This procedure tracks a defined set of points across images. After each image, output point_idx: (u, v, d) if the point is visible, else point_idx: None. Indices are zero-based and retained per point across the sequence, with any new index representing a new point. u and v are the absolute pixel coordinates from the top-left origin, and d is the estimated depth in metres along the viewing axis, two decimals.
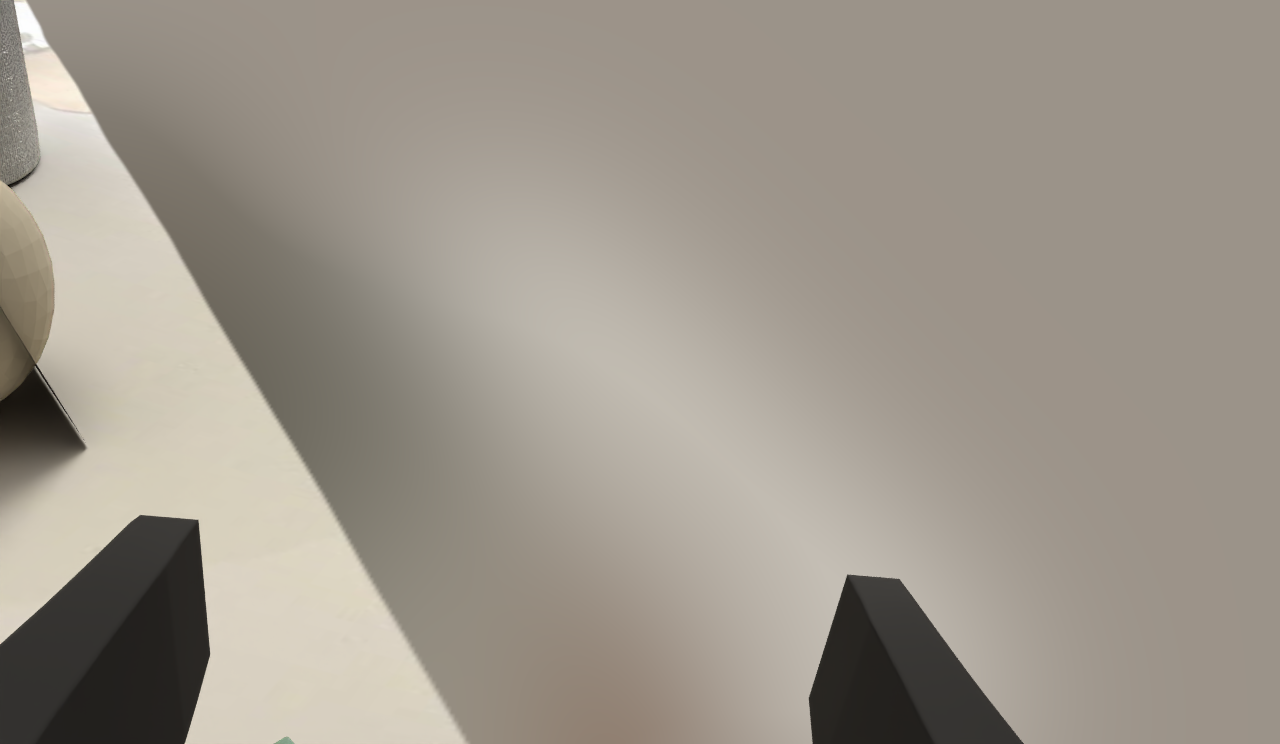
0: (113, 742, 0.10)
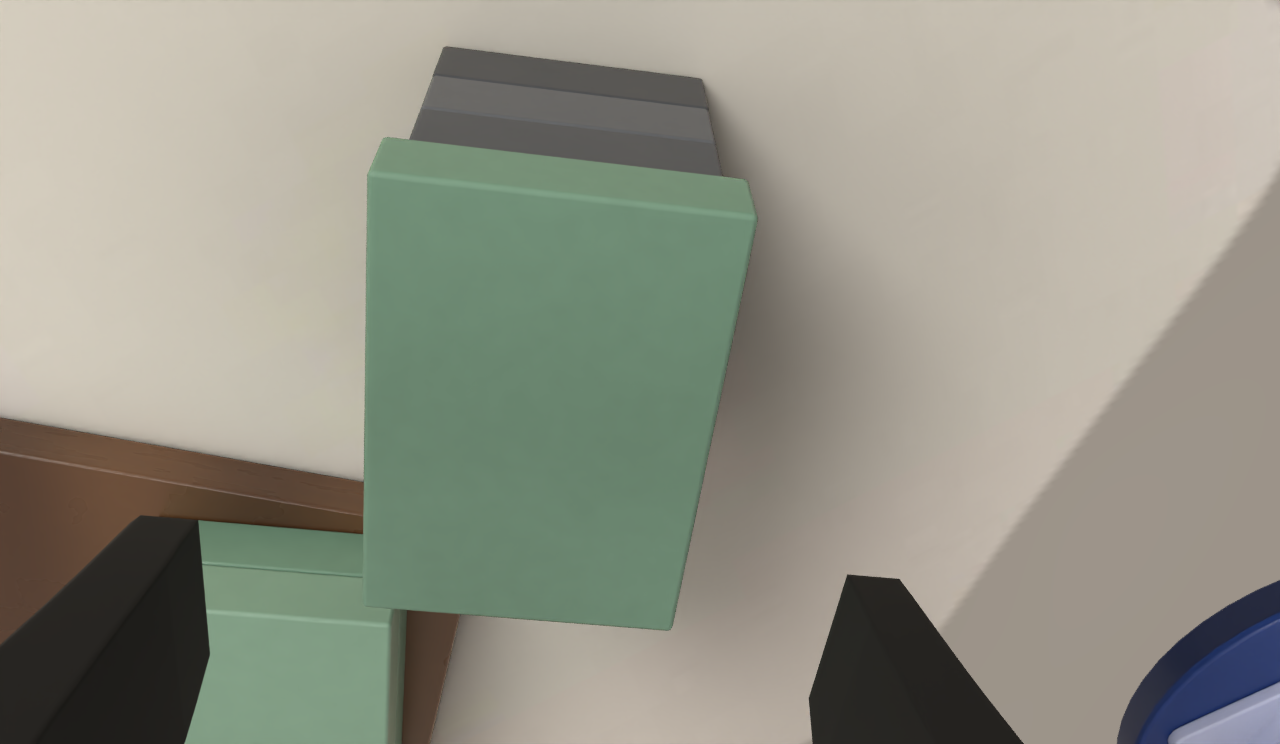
0: (113, 742, 0.10)
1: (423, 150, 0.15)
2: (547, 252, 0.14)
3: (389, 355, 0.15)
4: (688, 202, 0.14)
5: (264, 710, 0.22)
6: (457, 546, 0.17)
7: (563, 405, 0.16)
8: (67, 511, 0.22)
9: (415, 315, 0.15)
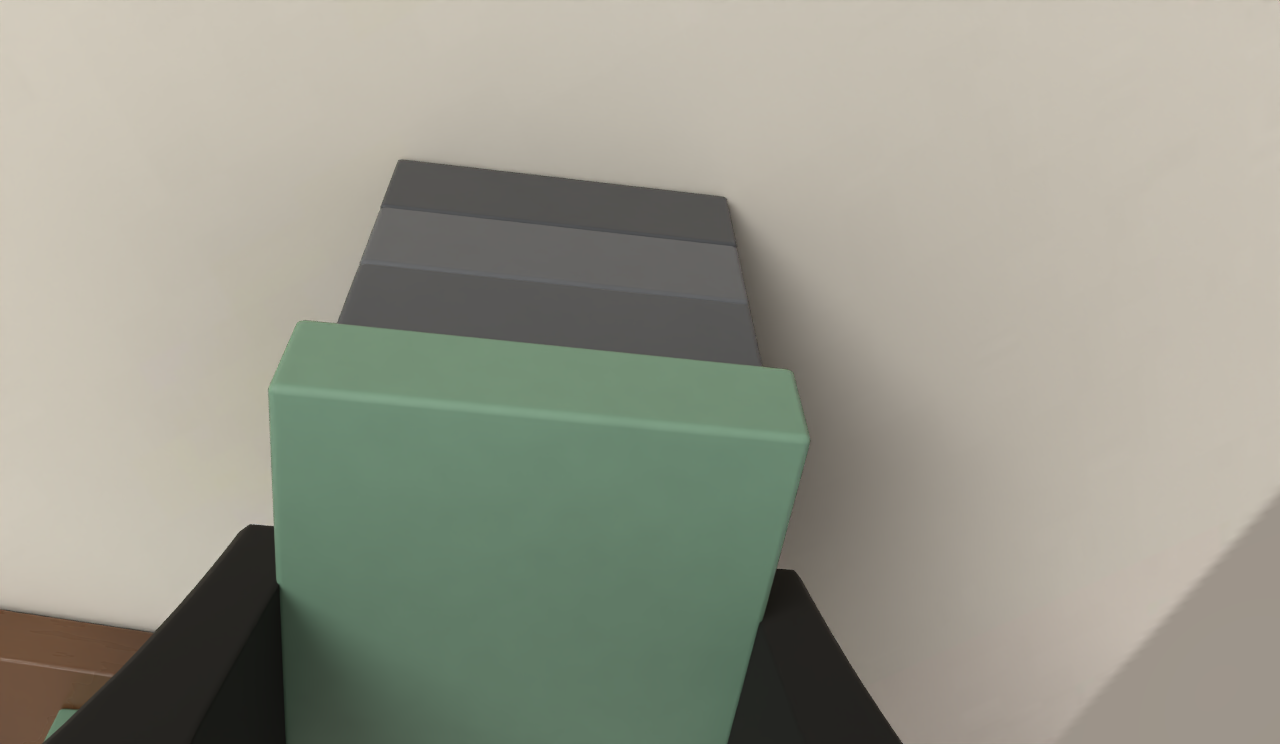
0: None
1: (350, 342, 0.11)
2: (521, 483, 0.11)
3: (309, 608, 0.11)
4: (715, 417, 0.10)
5: None
6: None
7: (545, 663, 0.12)
8: None
9: (342, 560, 0.11)
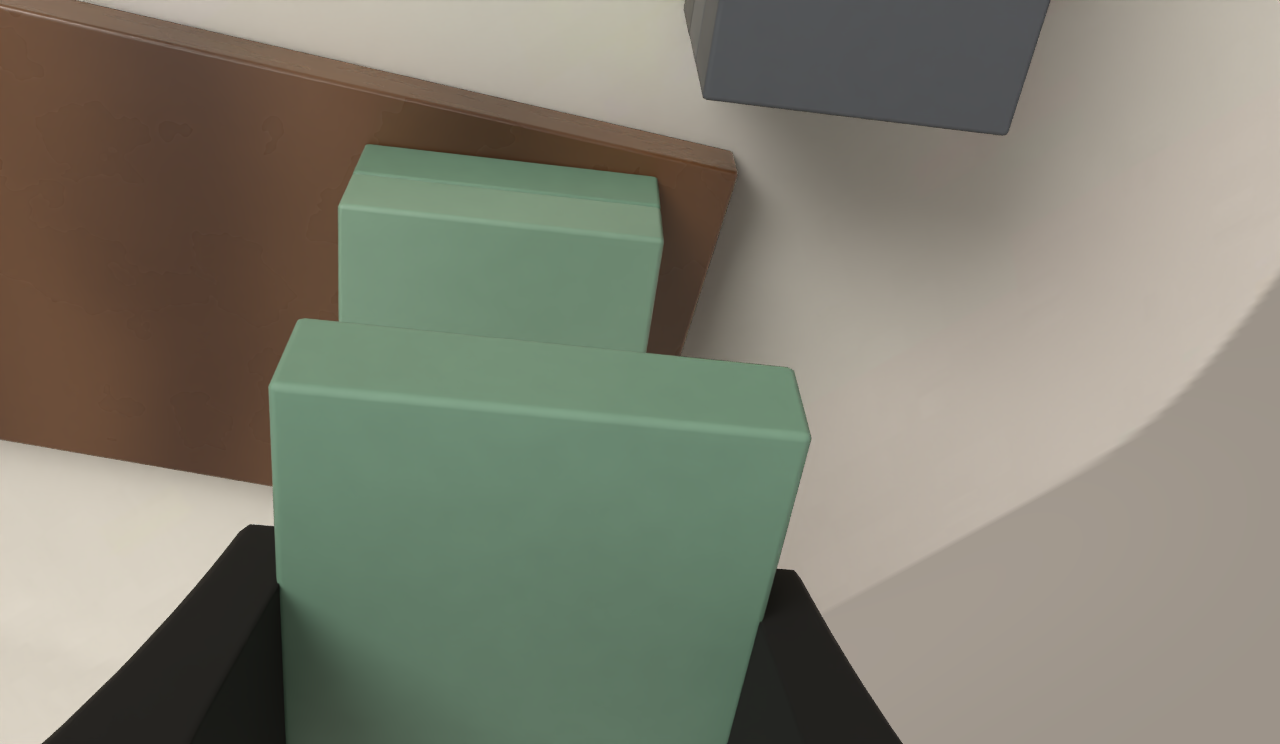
0: None
1: (351, 340, 0.11)
2: (520, 482, 0.11)
3: (309, 606, 0.11)
4: (715, 415, 0.10)
5: None
6: None
7: (545, 662, 0.12)
8: (259, 136, 0.19)
9: (342, 559, 0.11)
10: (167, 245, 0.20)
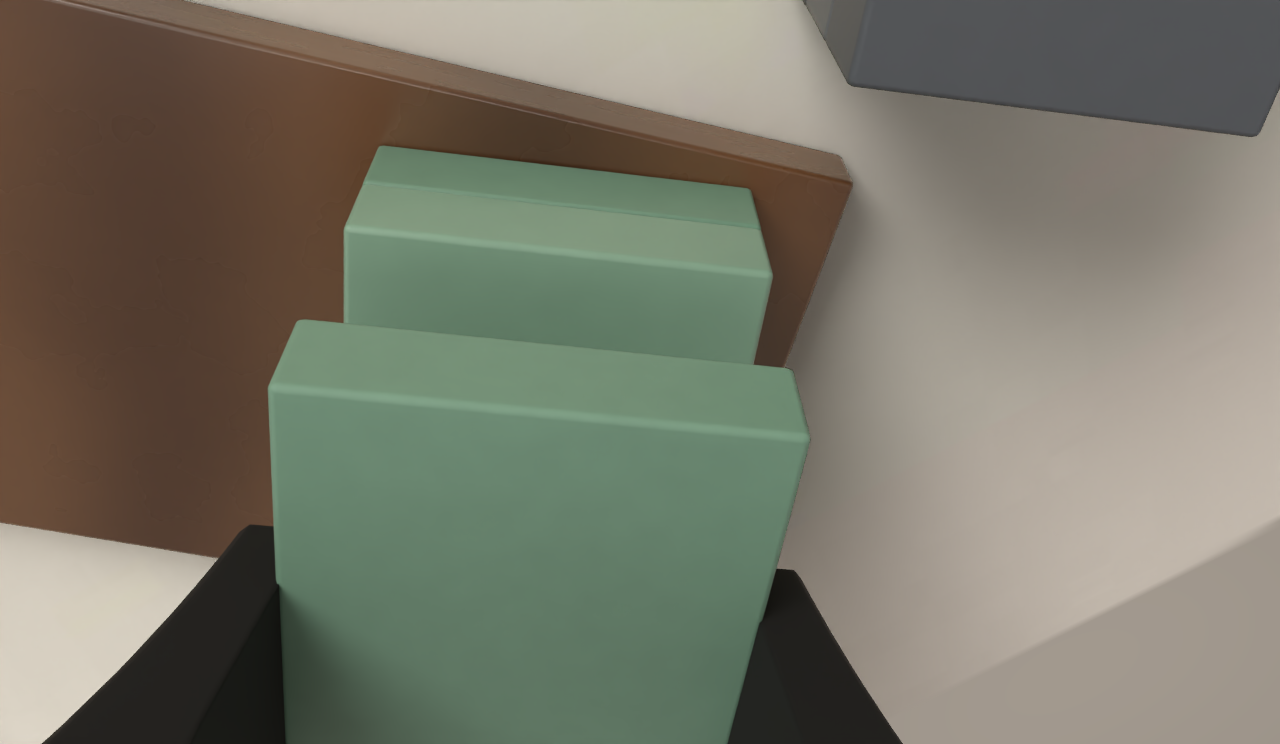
0: None
1: (351, 341, 0.11)
2: (521, 482, 0.11)
3: (309, 607, 0.11)
4: (715, 416, 0.10)
5: None
6: None
7: (545, 663, 0.12)
8: (242, 134, 0.14)
9: (342, 560, 0.11)
10: (126, 273, 0.15)
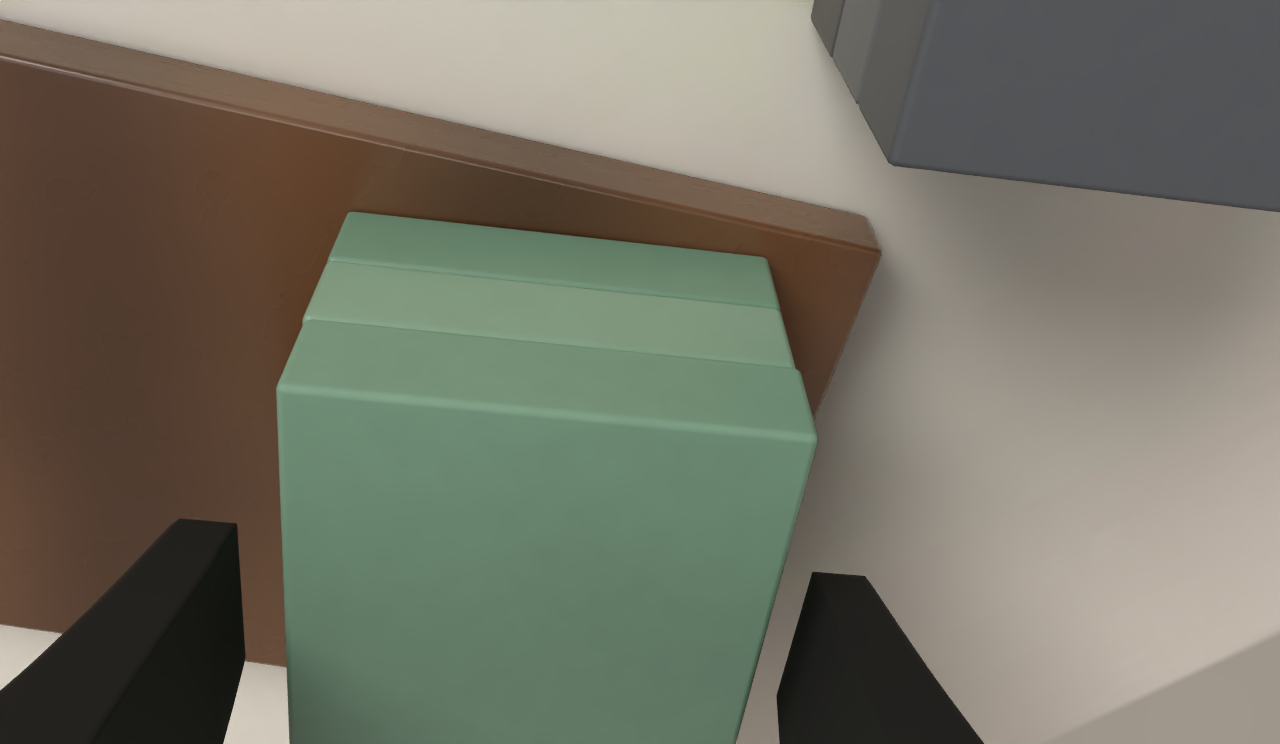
0: None
1: (357, 342, 0.11)
2: (527, 483, 0.11)
3: (316, 607, 0.11)
4: (722, 416, 0.10)
5: None
6: None
7: (551, 663, 0.12)
8: (194, 200, 0.13)
9: (349, 560, 0.11)
10: (66, 350, 0.14)
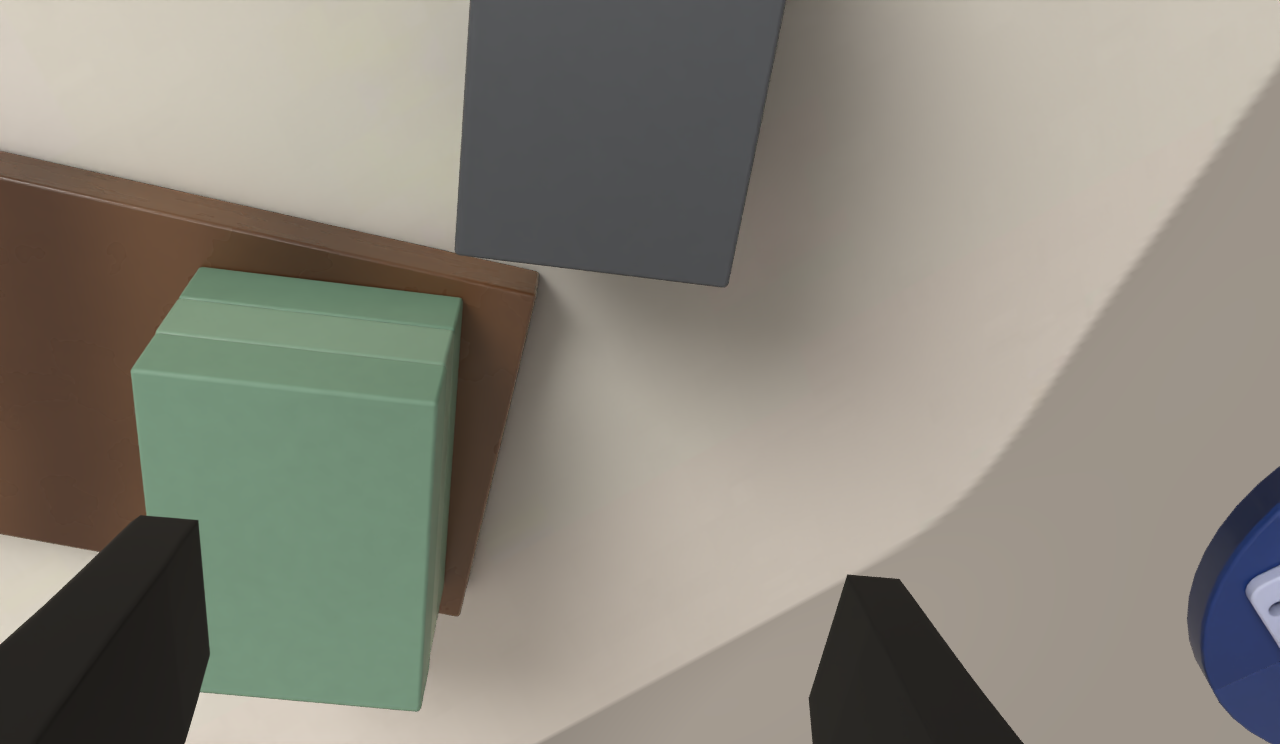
0: (113, 742, 0.10)
1: (182, 346, 0.19)
2: (276, 427, 0.19)
3: (162, 500, 0.19)
4: (384, 391, 0.19)
5: None
6: (235, 643, 0.21)
7: (305, 539, 0.20)
8: (105, 258, 0.21)
9: (179, 471, 0.19)
10: (29, 349, 0.22)
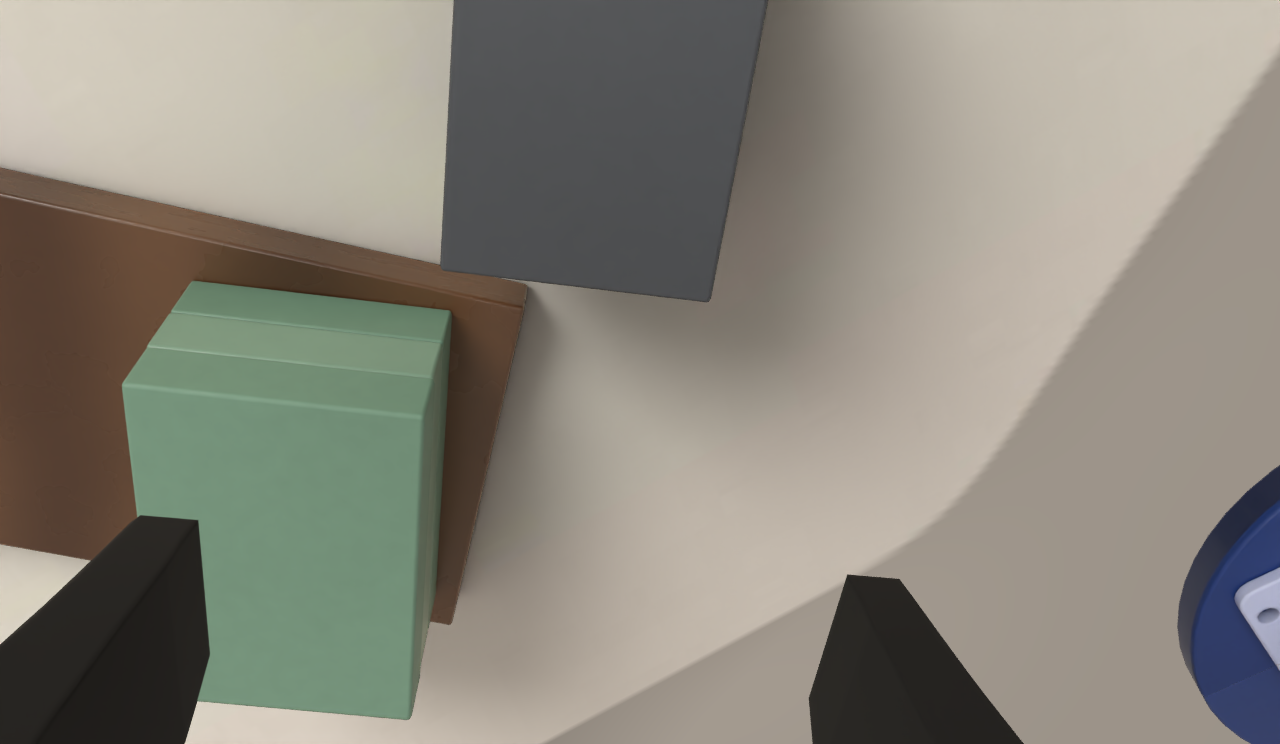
0: (113, 742, 0.10)
1: (173, 360, 0.19)
2: (265, 440, 0.19)
3: (154, 512, 0.20)
4: (372, 404, 0.19)
5: None
6: (227, 653, 0.21)
7: (295, 550, 0.20)
8: (98, 273, 0.21)
9: (170, 484, 0.19)
10: (24, 362, 0.22)
